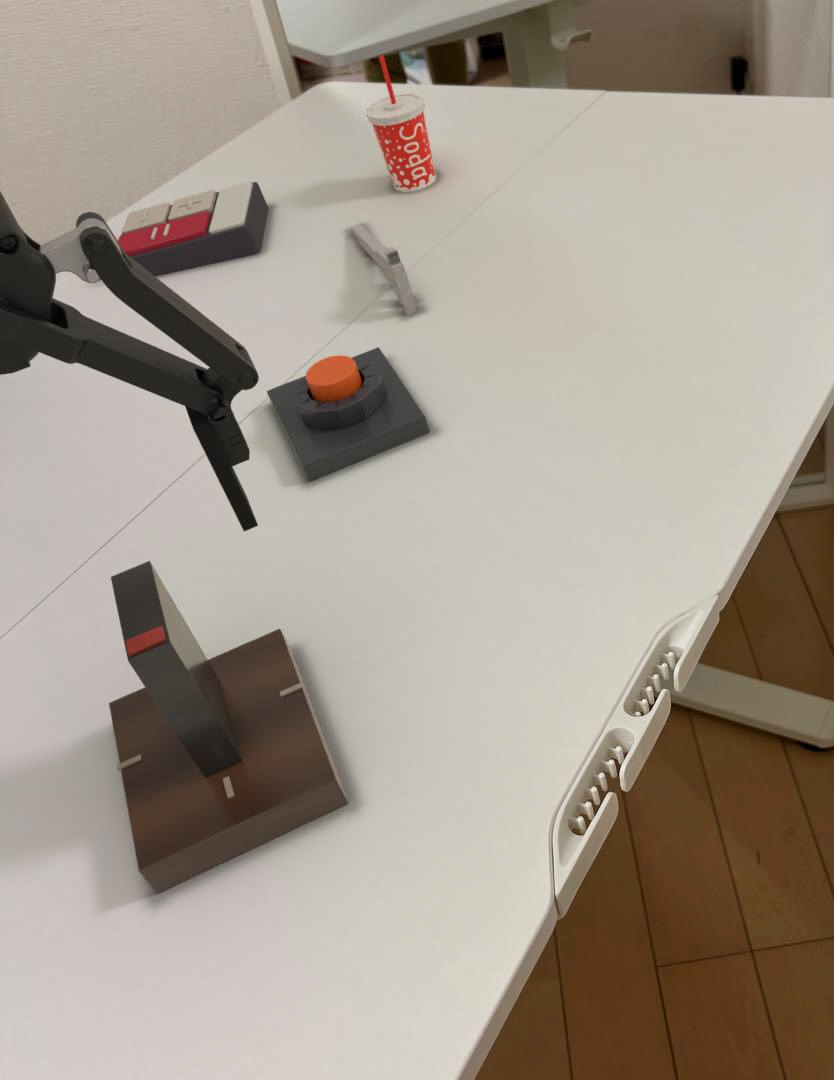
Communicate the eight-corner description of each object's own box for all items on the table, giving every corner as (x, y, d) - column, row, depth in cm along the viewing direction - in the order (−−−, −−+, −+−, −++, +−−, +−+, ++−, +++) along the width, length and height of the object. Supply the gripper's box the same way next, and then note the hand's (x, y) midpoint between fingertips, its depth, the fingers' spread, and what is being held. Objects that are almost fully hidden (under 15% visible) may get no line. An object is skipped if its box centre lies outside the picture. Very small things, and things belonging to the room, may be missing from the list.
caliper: (420, 317, 99) (402, 255, 95) (409, 322, 99) (390, 259, 95) (361, 232, 114) (343, 175, 110) (351, 235, 114) (333, 178, 110)
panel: (127, 732, 69) (105, 700, 67) (296, 657, 71) (280, 624, 69) (160, 901, 59) (135, 870, 57) (354, 809, 61) (336, 776, 59)
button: (306, 385, 88) (299, 367, 86) (353, 367, 88) (347, 349, 87) (320, 410, 85) (312, 391, 83) (368, 390, 85) (361, 372, 84)
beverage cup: (393, 205, 117) (354, 73, 108) (385, 183, 122) (348, 54, 113) (448, 190, 118) (415, 57, 108) (438, 168, 122) (406, 38, 113)
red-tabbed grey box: (183, 693, 66) (108, 573, 59) (218, 678, 66) (147, 557, 60) (204, 778, 61) (125, 657, 54) (242, 760, 61) (168, 638, 55)
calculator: (124, 210, 120) (255, 173, 119) (142, 245, 123) (270, 210, 122) (104, 257, 112) (245, 219, 111) (125, 294, 115) (262, 257, 114)
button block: (275, 412, 92) (258, 372, 90) (385, 368, 94) (372, 328, 91) (311, 488, 84) (294, 447, 81) (432, 438, 86) (419, 396, 83)
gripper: (-530, 326, 36) (-142, 727, 50) (205, 80, 40) (369, 510, 55) (-469, 242, 41) (-135, 624, 55) (172, 33, 46) (330, 435, 60)
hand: (116, 568), depth 55 cm, fingers open, 13 cm apart
